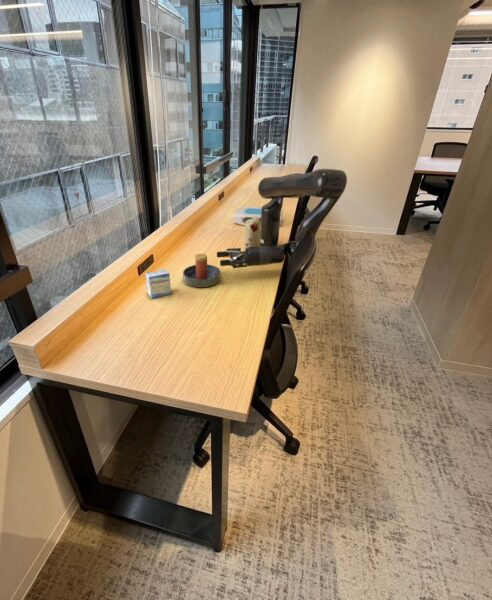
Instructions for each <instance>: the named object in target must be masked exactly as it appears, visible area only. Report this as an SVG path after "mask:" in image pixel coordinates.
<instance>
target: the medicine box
mask: <svg viewBox="0 0 492 600" xmlns="http://www.w3.org/2000/svg"><path fill="white" fill-rule="evenodd" d="M144 275H145V282H146V288H147V295H148V296H149V297H150V299H156V298H160V297H165V296H167V295H171V294H172V286H171V277H170V276H171V275H170V272H169V271H168V270H167V269H160V270H156V271H151V272H146V273H144Z"/></svg>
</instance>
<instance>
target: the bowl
mask: <svg viewBox="0 0 492 600" xmlns="http://www.w3.org/2000/svg"><path fill="white" fill-rule="evenodd" d="M207 272H208V279H206V280H197V279H196V264H193V265H190V266H188V267H186V268H185V269H183V270H182V277H183V278H182V279H183V282H184V283H185V285H188V286H191V287H195V288H207V287H212V286H214V285H217V284H218V283H219V282H220V281H221V270H220V268H218V267H217V266H215V265H212V264H207Z"/></svg>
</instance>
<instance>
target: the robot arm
mask: <svg viewBox="0 0 492 600" xmlns="http://www.w3.org/2000/svg"><path fill="white" fill-rule="evenodd" d="M347 183H348V176H347V174H346V172H345V171H344V170H342V169H336V168H319V169H315V170H312V171H310V172H307V173H302V172H299V173H298V172H297V173H296V172H295V173H290V174H285V175H282V176H269V177H268V176H267V177H263V178H262V179H260V181H259V183H258V186H257V191H258V194H259V196H260V197H261V198H262V199H265V200H269V202H267V203H265V204H264V205H262V206H261V207H262V208H261V218H260V223H261V226H260V246H259V247H247V248H246V250H245V251H242V248H241V247H235V248H233V247H231V248H226V249H225V250H224V251H217V252H216V257H217V258H230V259H221V260H219V266H220V267H226V266H227V267H228V266H230V267H232V269H239V268H248V267H255V266H256V267H257V266H266V265H272V264H281V263H283V262H284V260H285V257H286V256H288V258H289V259H290V257H291V255H292V252H293V251H294V248H295V249H296V247H297V245H298V244H299V242H300V241H301V240H302V239H303V238H305V237H306V236H307V235H309V234H310V233H313V235H314V238H315V237H316V235H317V233H318V231H319V229H320V227H321V225H322V224H323V222H324V221H325V219H326V218H327V217H328V215H329V213H330V212H331V211H332V210H333V208H334V207H335V205H336V204H337V202H338V201H339V200H340V198H341V197H342V195H343V194H344V192H345V190H346V188H347ZM304 196H308V197H314V198H320V201H319V202H318V204H317V205H316V206H315V207H314V208H313V209H312V210H311V211H310V212H309V213H307V215H306V216H304V218H303V219H302V220H301V221H300V224H299V226H298V228H297V231H296V232H295V236H294V240H292V241H288V242H286V243H283V244H280V245H279V241H280V240H279V239H280V228H281V227H280V226H281V225H280V216H281V210H283V206H284V205H283V204H284V199H300V198H304ZM309 230H310V231H311V232H310V231H309ZM295 245H296V247H295Z"/></svg>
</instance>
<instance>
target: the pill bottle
mask: <svg viewBox="0 0 492 600" xmlns="http://www.w3.org/2000/svg"><path fill="white" fill-rule="evenodd" d="M194 261H195V262H194V263H195V265H196V279H197V280H206V279H208V272H207V265H208V255H207V254H206V253H197V254H195V255H194Z"/></svg>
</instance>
